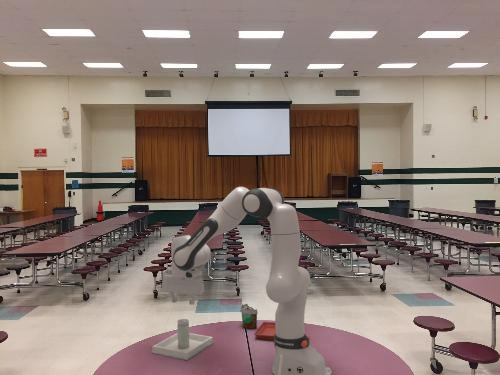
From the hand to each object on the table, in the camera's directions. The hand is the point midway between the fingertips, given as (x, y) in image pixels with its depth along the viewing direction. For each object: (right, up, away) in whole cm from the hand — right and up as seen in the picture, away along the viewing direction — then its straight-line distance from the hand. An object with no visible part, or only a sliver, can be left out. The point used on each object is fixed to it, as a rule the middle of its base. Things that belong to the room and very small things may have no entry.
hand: (182, 303), depth 189 cm
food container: (+28, -19, +27) cm, 43 cm away
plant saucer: (+42, -20, +15) cm, 49 cm away
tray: (0, -20, 0) cm, 20 cm away
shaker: (0, -19, 0) cm, 19 cm away
